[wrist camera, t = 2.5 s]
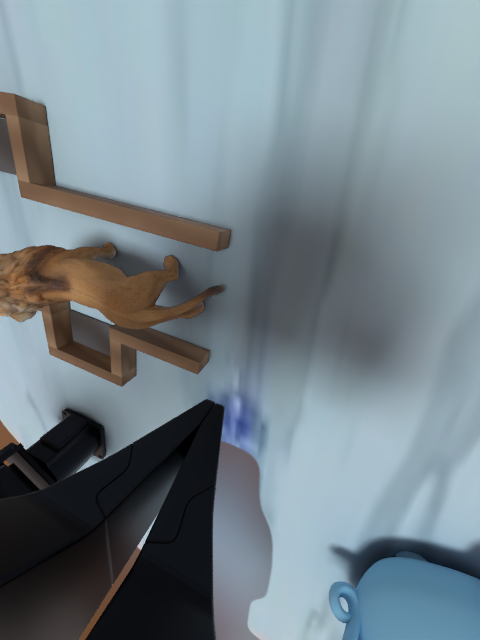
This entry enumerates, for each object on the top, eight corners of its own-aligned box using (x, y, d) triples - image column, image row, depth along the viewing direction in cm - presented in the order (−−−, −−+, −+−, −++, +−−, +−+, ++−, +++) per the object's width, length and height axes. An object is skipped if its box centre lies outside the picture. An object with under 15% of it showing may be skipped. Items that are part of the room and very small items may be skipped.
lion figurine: (87, 294, 23) (-34, 333, 16) (73, 237, 21) (-74, 248, 14) (227, 316, 19) (157, 383, 11) (227, 247, 17) (142, 273, 9)
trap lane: (201, 403, 24) (191, 417, 22) (-45, 297, 31) (-67, 302, 30) (246, 139, 14) (234, 128, 13) (-125, 77, 22) (-164, 65, 20)
